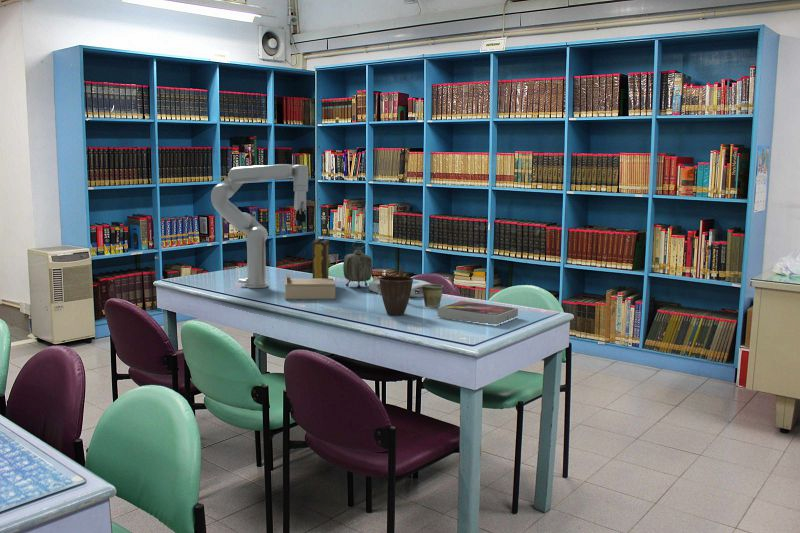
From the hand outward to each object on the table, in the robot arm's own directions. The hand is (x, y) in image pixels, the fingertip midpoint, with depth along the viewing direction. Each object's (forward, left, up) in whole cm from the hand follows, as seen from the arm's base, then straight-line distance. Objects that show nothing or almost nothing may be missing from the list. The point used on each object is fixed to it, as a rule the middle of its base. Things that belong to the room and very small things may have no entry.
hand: (300, 221), depth 374 cm
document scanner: (+52, -17, -36) cm, 66 cm away
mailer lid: (+4, -27, -29) cm, 40 cm away
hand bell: (+47, -42, -36) cm, 73 cm away
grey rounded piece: (+31, +1, -36) cm, 47 cm away
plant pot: (+40, -72, -36) cm, 90 cm away
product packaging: (+75, -82, -36) cm, 117 cm away
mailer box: (+4, -27, -35) cm, 45 cm away
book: (+11, +3, -36) cm, 37 cm away
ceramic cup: (+61, -54, -36) cm, 89 cm away
